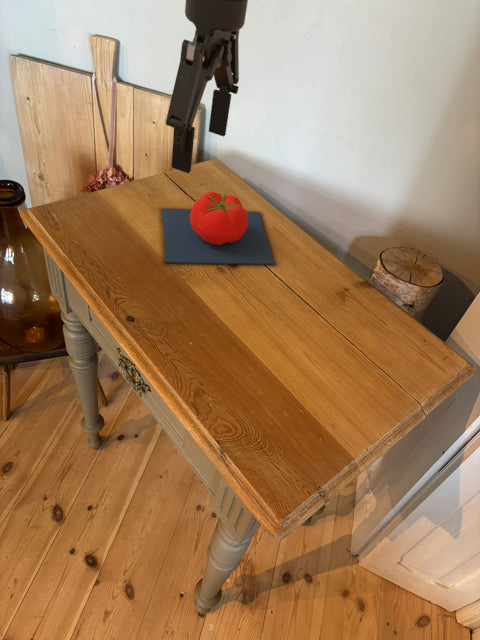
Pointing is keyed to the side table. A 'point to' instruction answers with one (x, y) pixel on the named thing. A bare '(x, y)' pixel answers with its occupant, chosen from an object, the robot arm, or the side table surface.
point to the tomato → (218, 218)
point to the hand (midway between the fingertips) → (200, 150)
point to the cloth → (194, 250)
